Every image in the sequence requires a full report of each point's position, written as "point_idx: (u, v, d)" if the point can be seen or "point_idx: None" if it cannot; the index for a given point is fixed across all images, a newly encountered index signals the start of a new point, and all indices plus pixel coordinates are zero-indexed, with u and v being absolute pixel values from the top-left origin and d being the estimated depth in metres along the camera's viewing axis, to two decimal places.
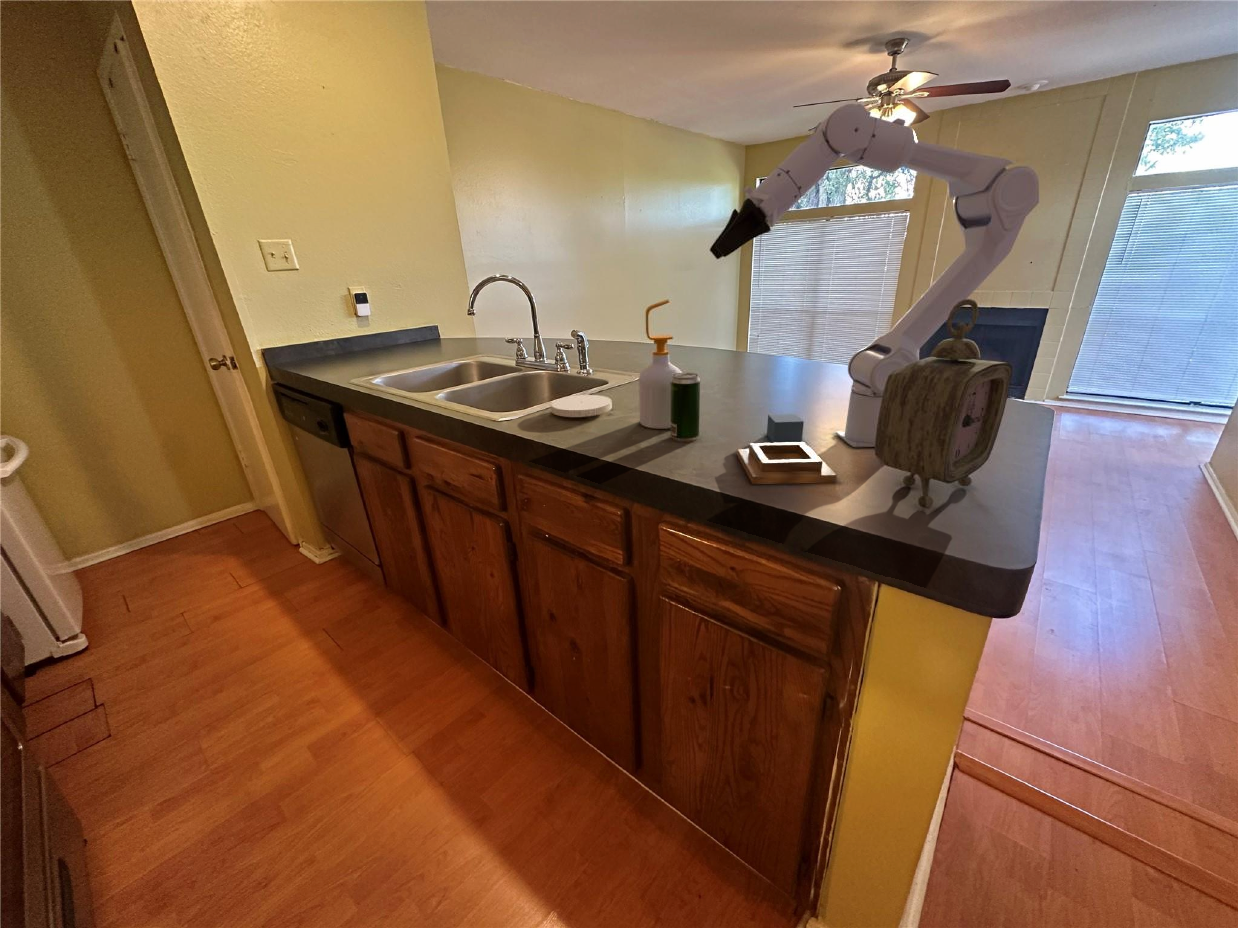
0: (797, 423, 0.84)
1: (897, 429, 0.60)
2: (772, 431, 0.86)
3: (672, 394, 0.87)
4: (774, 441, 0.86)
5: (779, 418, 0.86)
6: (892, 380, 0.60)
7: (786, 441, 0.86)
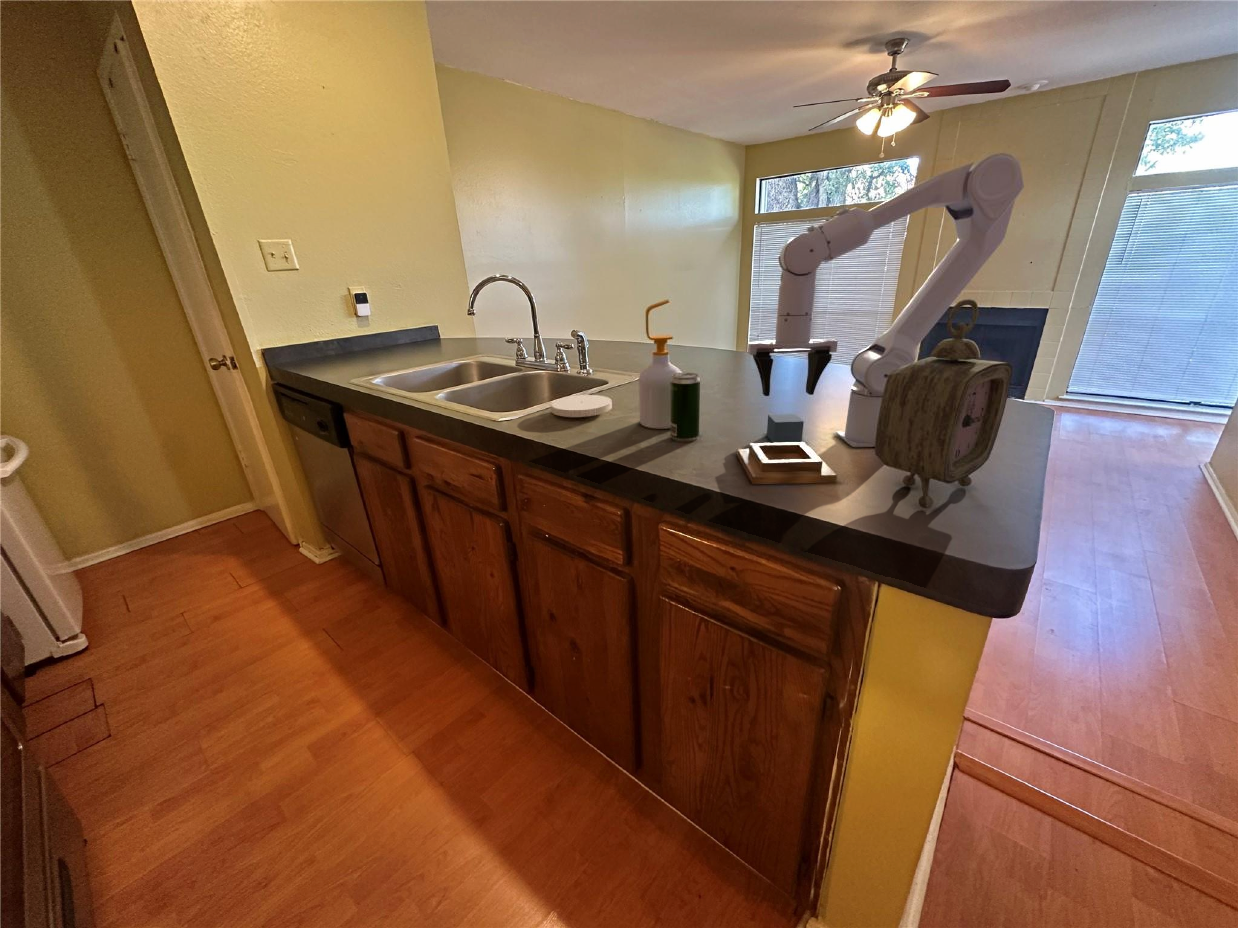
0: (797, 423, 0.84)
1: (897, 429, 0.60)
2: (772, 431, 0.86)
3: (672, 394, 0.87)
4: (774, 441, 0.86)
5: (779, 418, 0.86)
6: (892, 380, 0.60)
7: (786, 441, 0.86)
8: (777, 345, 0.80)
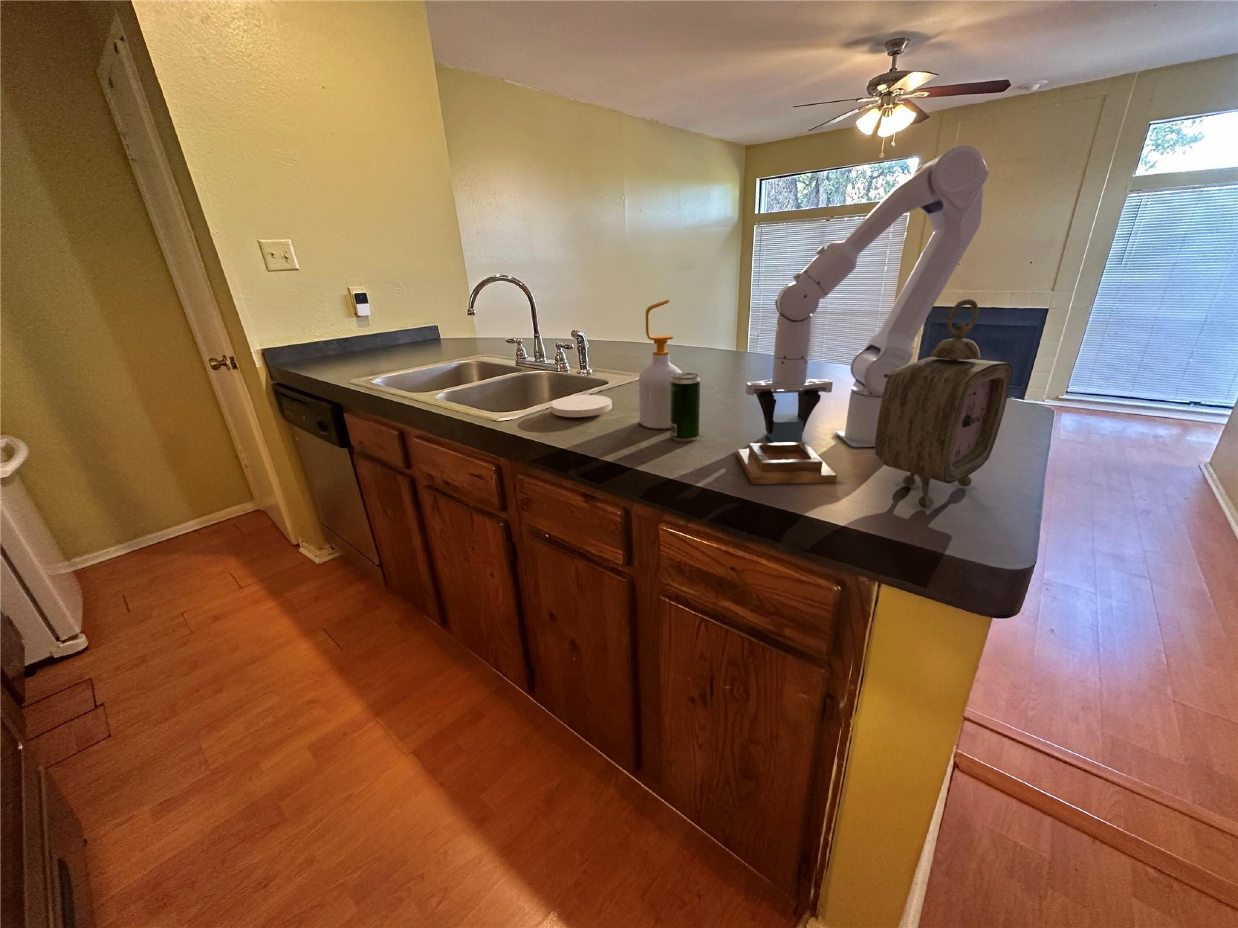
0: (797, 423, 0.84)
1: (897, 429, 0.60)
2: (772, 431, 0.86)
3: (672, 394, 0.87)
4: (774, 441, 0.86)
5: (779, 418, 0.86)
6: (892, 380, 0.60)
7: (786, 441, 0.86)
8: (774, 386, 0.82)
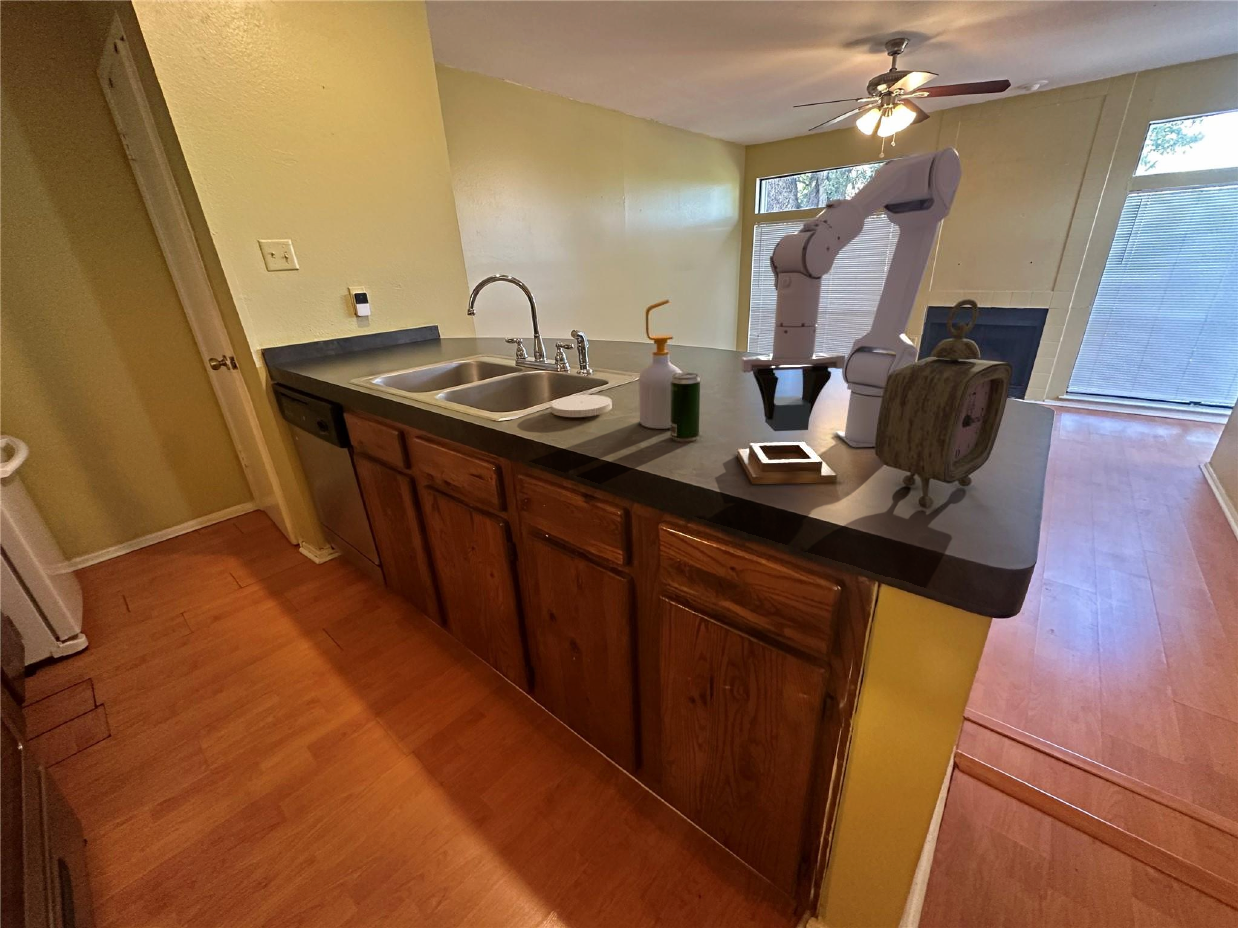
0: (803, 406, 0.70)
1: (897, 429, 0.60)
2: (773, 416, 0.72)
3: (672, 394, 0.87)
4: (775, 428, 0.71)
5: (780, 401, 0.72)
6: (892, 380, 0.60)
7: (790, 428, 0.71)
8: (775, 361, 0.68)
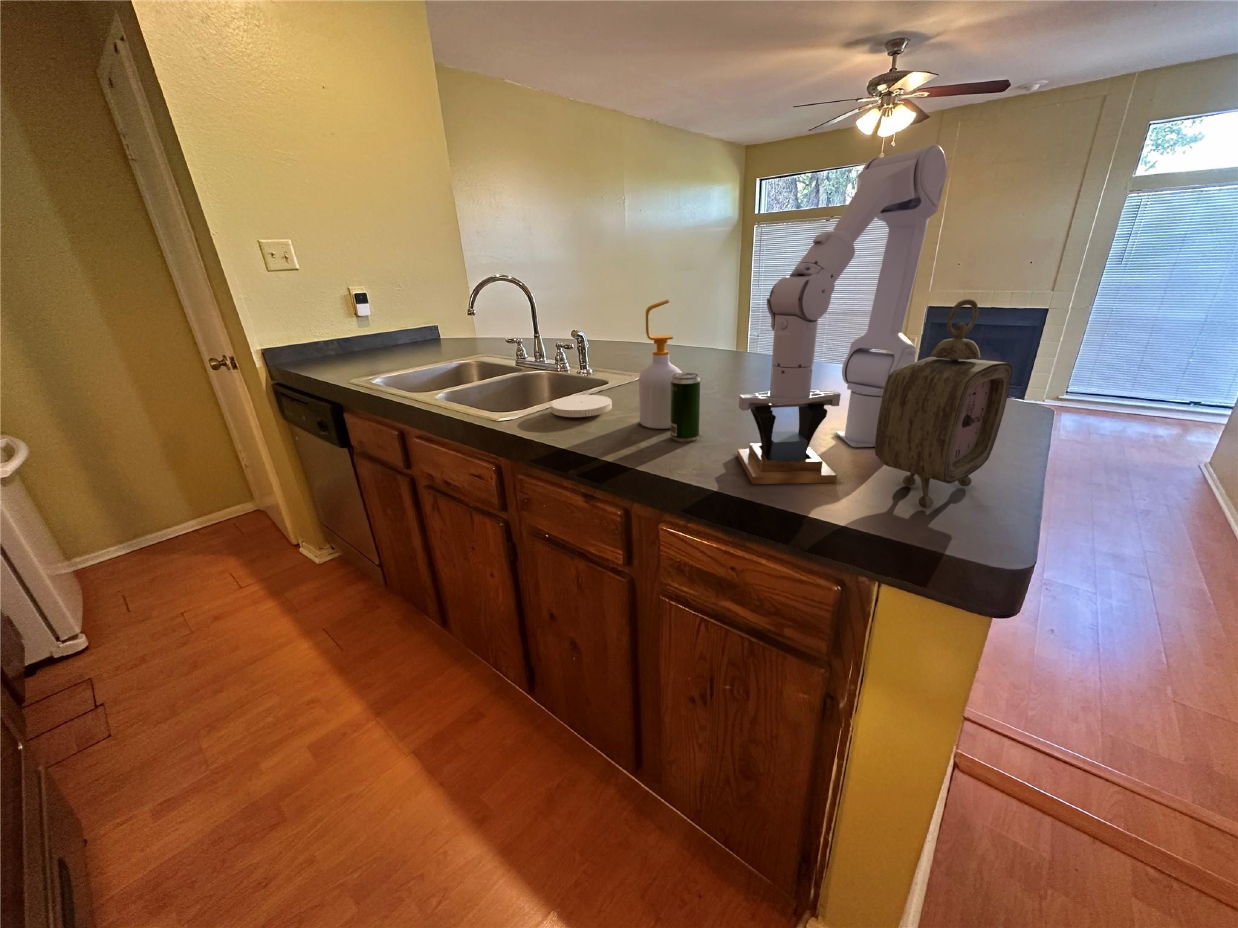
0: (800, 442, 0.71)
1: (897, 429, 0.60)
2: (770, 452, 0.73)
3: (672, 394, 0.87)
4: None
5: (778, 437, 0.73)
6: (892, 380, 0.60)
7: None
8: (773, 400, 0.69)
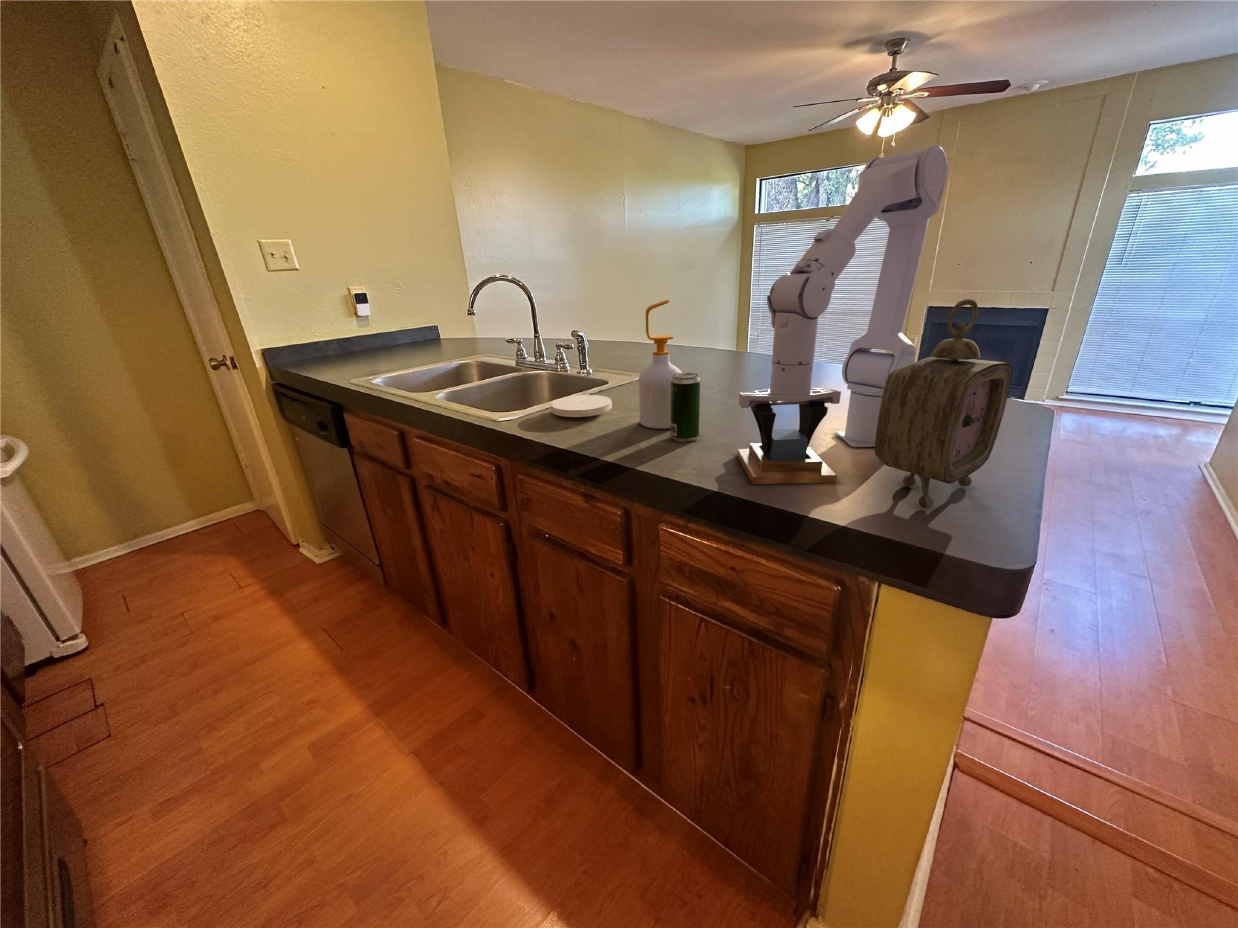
0: (800, 440, 0.71)
1: (897, 429, 0.60)
2: None
3: (672, 394, 0.87)
4: None
5: (778, 435, 0.73)
6: (892, 380, 0.60)
7: None
8: (773, 398, 0.69)
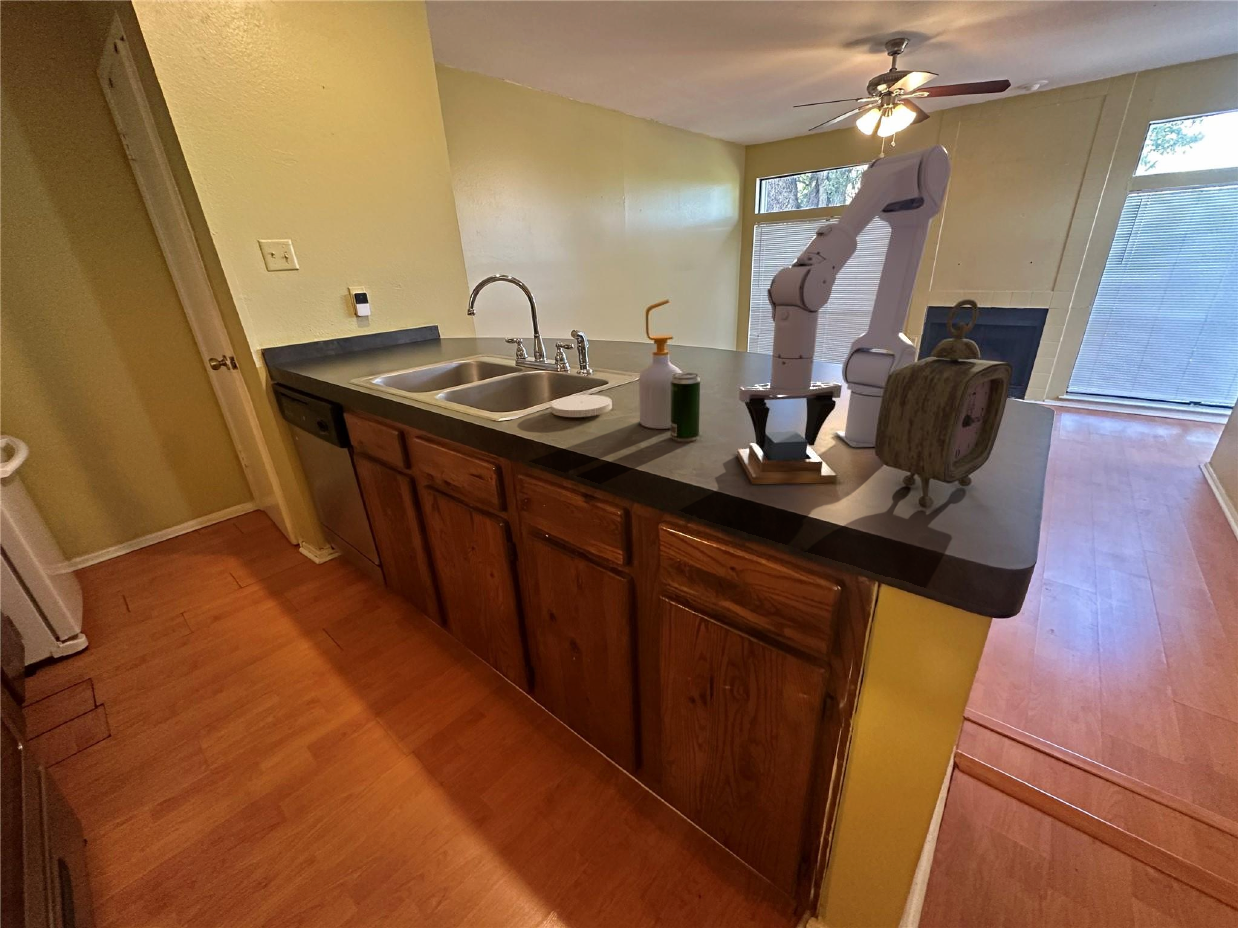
0: (800, 443, 0.71)
1: (897, 429, 0.60)
2: (770, 452, 0.73)
3: (672, 394, 0.87)
4: None
5: (778, 438, 0.73)
6: (892, 380, 0.60)
7: None
8: (774, 392, 0.68)
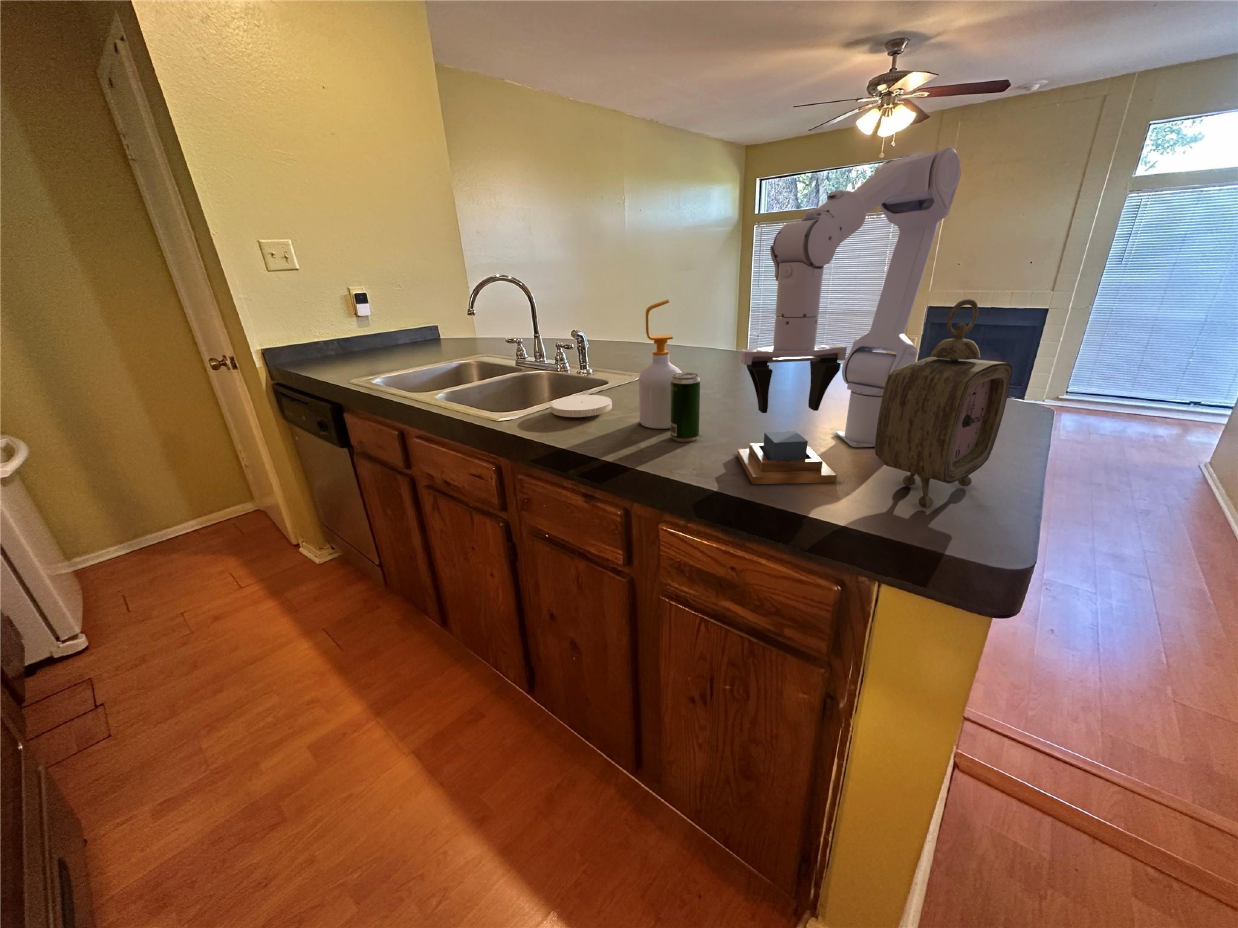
0: (800, 443, 0.71)
1: (897, 429, 0.60)
2: (770, 452, 0.73)
3: (672, 394, 0.87)
4: None
5: (778, 438, 0.73)
6: (892, 380, 0.60)
7: None
8: (777, 353, 0.66)
